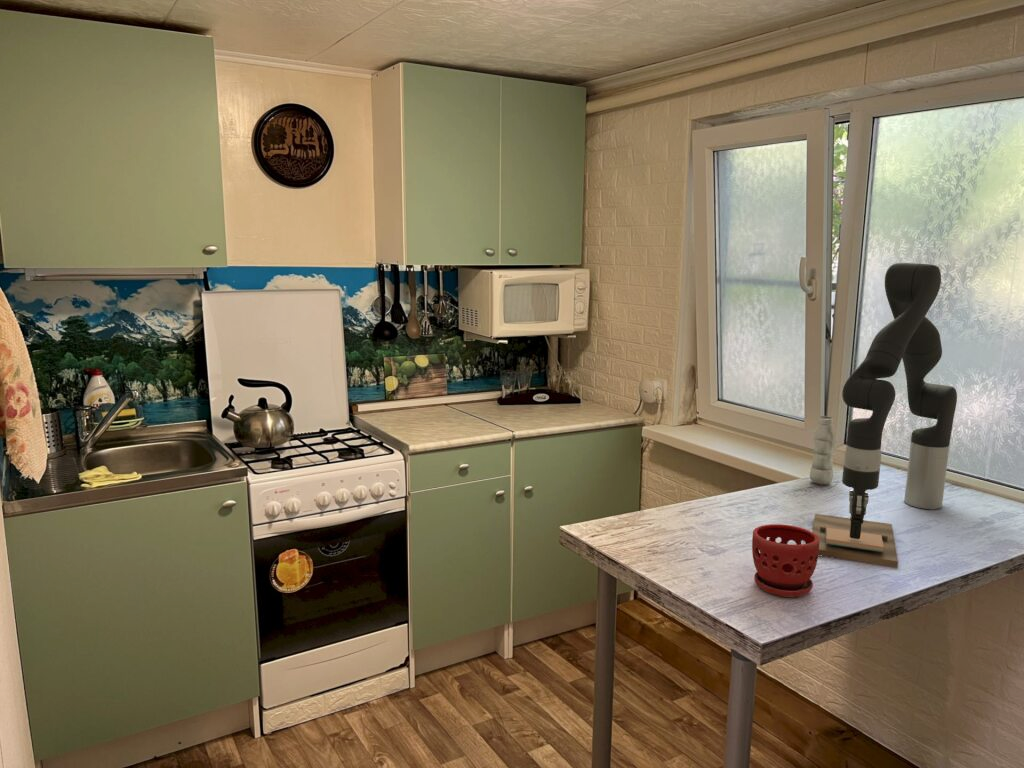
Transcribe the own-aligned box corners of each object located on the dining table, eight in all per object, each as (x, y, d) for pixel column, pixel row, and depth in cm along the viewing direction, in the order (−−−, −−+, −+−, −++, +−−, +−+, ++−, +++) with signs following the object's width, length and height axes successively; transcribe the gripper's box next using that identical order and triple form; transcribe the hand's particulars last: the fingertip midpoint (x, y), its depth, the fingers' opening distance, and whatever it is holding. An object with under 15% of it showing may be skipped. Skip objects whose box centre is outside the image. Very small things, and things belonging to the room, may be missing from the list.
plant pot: (828, 590, 162) (833, 536, 160) (789, 607, 155) (793, 551, 152) (774, 568, 173) (778, 517, 170) (736, 583, 165) (739, 530, 163)
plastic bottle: (811, 486, 227) (817, 419, 223) (806, 479, 233) (812, 414, 229) (834, 487, 226) (841, 420, 222) (829, 480, 232) (835, 415, 228)
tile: (881, 535, 184) (880, 540, 184) (826, 527, 189) (826, 532, 189) (883, 546, 175) (883, 552, 175) (826, 538, 180) (825, 543, 180)
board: (814, 519, 202) (815, 509, 201) (891, 529, 195) (892, 519, 194) (810, 554, 180) (811, 543, 179) (897, 567, 173) (898, 556, 173)
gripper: (881, 475, 168) (873, 551, 172) (878, 459, 180) (871, 529, 184) (843, 471, 171) (836, 545, 175) (843, 455, 183) (837, 524, 187)
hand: (854, 537), depth 179 cm, fingers closed
